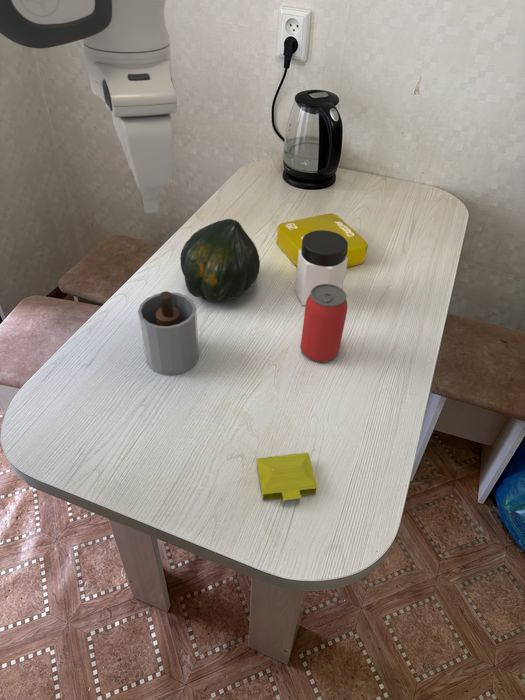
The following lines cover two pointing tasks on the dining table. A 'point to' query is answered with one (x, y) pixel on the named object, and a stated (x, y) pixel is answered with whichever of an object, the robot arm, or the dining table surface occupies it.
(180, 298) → the steel cup
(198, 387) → the dining table surface
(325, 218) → the yellow box
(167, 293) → the brown bottle
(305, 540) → the dining table surface
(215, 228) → the squash
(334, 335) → the beer can
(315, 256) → the jar
